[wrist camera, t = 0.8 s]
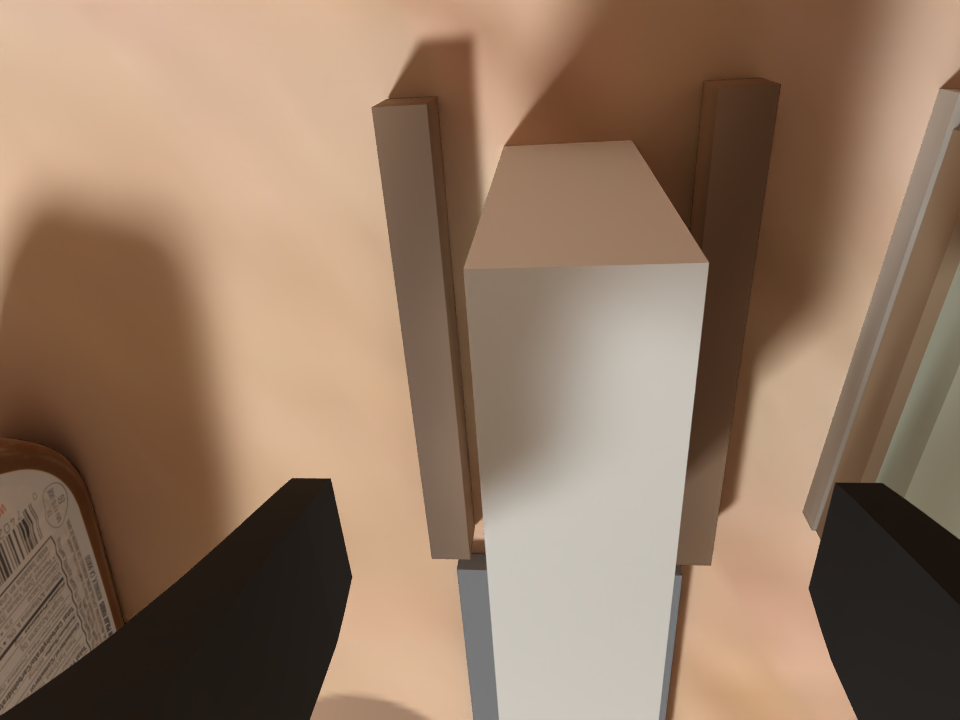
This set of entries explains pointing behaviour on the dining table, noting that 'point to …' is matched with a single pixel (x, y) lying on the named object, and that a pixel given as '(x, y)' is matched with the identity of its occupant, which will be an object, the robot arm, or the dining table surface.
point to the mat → (481, 640)
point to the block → (582, 423)
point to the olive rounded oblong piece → (908, 350)
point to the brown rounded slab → (48, 571)
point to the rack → (432, 313)
